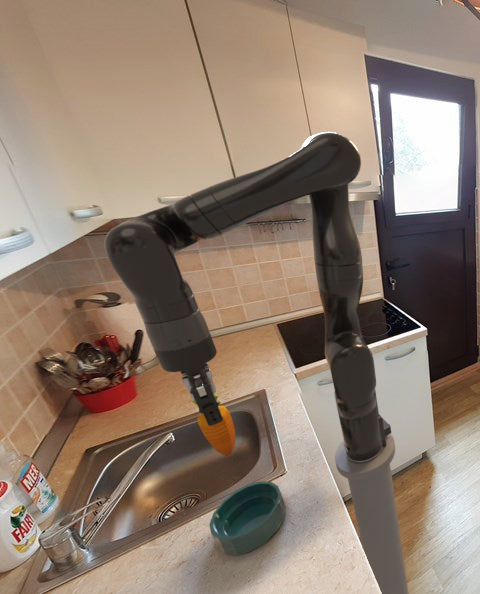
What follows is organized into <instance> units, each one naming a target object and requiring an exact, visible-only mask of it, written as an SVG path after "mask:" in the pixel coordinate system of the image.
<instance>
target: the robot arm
mask: <svg viewBox="0 0 480 594" xmlns="http://www.w3.org/2000/svg"><path fill="white" fill-rule="evenodd" d="M361 167H362V157H361V154H360V151H359V149H358V148H357V146H356V144H354V142H353V141H352V140H350V139H349V138H347V136H344V135H342V134H340V133H336V132H332V131H331V132H330V131H326V132H320V133H316V134H314V135H311V136H309V137H308V138H307V139H306V140H305V141H304V142H303V144H302V145H301V148H300V149H299V150H297V151H295V152H294V153H293V154H291V155H289V156H287V157H286V158H284V159H282V160H279V161H278V162H275V163H273V164H270V165H269V166H265V167H263V168H261V169H258V170H254V171H252V172H248V173H245V174H242V175H239V176H236V177H233V178H230V179H226V180H224V181H221V182H219V183H216V184H213V185H210V186H209V187H206V188H204V189H200V190H199V191H195V192H193V193H192V194H190V195H187V196H185V197H183V198H181V199H178V200H177V201H176V202H174V203H171V204H170V205H165V206H163V207H160V208H157V209H154V210H152V211H151V210H150V211H149V212H146V213H143V214H140V215H137V216H135V217H132V218H130V219H129V218H128V219H127V220H125V221H123V222H121V223H119V224H117V225H116V226H114V227H113V228H111V229H110V230H109V231H108V232H107V234H106V235H105V237H104V241H103V245H104V246H103V247H104V251H105V254H106V256H107V259H108V261H109V263H110V265H111V267H112V268H113V270H114V271H115V273H116V274H117V277H118V278H119V279H120V280H121V282H122V283H123V285H124V286H125V287H126V289H127V290H128V291H129V292H130V294H131V295H132V297H133V301H134V304H135V306H136V308H137V310H138V313H139V314H140V317H141V319H142V321H143V325H144V327H145V332H146V335H147V338H148V340H149V342H150V345H151V346H152V348H153V351H154V353H155V355H156V357H157V359H158V361H159V364H160V366H161V368H162V370H164V371H165V372H169V373H178V372H180V374H181V375H180V376H181V380H182V383H183V385H184V387H186V388H187V390H188V393H189V395H190V397H191V400H192V401H193V400H195V401H196V403H197V405H196V406H197V408H198V412H199V413H200V415H201V414H202V413H203V414H204V416H205V419H206V421H207V423H208V425H209V426H212V425H214V424H217V423H219V422H221V421H222V420H223V418H222V415H221V413H220V410H219V408H218V405H219V406H220V404H218V401H219V400H217V401H216V398H215V396H214V394H216V393H217V389H216V386H215V383H214V380H213V372H212V371H211V368H210V364H209V362H211V361H213V359H214V358H215V357H216V355H217V353H218V351H217V350H218V349H217V348H216V345H215V342H214V340H213V337H212V334H211V331H210V329H209V326H208V324H207V320H206V319H205V317H204V315H203V314H202V312H201V309H200V308H199V305H198V302H197V300H196V297H195V294H194V292H193V289H192V286H191V285H190V284H189V282H188V281H187V280H186V279H185V278H183V275H182V272H181V269H180V267H179V265H178V262H177V259H176V255H175V254H176V253H178V252H181V251H182V250H185V249H186V248H188V247H191V246H193V245H195V244H197V243H199V242H201V241H209V240H213V239H215V238H219V237H220V236H222V235H225V234H227V233H229V232H231V231H234V230H235V229H238V228H239V227H241V226H244V225H247V224H248V223H250V222H252V221H254V220H255V219H258V218H260V217H261V216H262V217H263V216H264V215H266V214H269V213H270V212H272V211H274V210H276V209H278V208H280V207H282V206H284V205H287V204H289V203H291V202H294V201H296V200H298V199H301V198H303V197H306V196H308V197H309V202H310V208H311V222H312V223H311V224H312V225H311V226H312V227H311V229H312V244H313V260H314V268H315V275H316V283H317V287H318V293H319V299H320V302H321V306H322V309H323V316H324V357H325V360H326V362H327V364H328V365H327V366H328V368H329V370H330V374H331V379H332V383H333V389H334V393H333V394H334V401H335V404H336V410H337V414H338V419H339V424H340V428H341V433H342V438H343V440H344V443H345V445H344V447H345V449H346V455H347V458H348V459H349V460H350V461H351V462H353V463H366V462H369V461H371V460H373V459H375V458H376V457H377V456H378V455H379V454H380V453H381V452H382V450H383V448H384V447H386V438H385V436H387V435H389V434H390V433H391V434H392V427H391V424H390V423H388V422H387V421H386V420H385V419H384V418H383V416H381V414H380V412H379V406H378V400H377V392H376V388H377V377H376V376H377V375H376V368H375V362H374V361H375V360H374V355H373V353H372V351H371V349H370V347H369V345H368V344H367V343H366V341H365V340H364V337H363V334H362V330H361V325H360V324H361V323H360V319H359V306H360V301H361V297H362V294H363V287H364V270H363V269H364V268H363V256H362V249H361V246H360V245H361V244H360V241H359V237H358V234H357V231H356V229H355V228H356V227H355V225H354V222H353V219H352V215H351V210H350V209H351V208H350V201H349V200H350V199H349V197H350V196H349V184H351V183H352V182H353V181H355V179H356V178H357V177H358V176H359V173H360V171H361ZM344 443H343V444H344Z"/></svg>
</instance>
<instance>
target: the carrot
mask: <svg viewBox="0 0 480 594" xmlns="http://www.w3.org/2000/svg"><path fill="white" fill-rule="evenodd" d="M214 396H215V398H216V401H218V404H219V405H218V408H219V410H220V413H221V415H222V418H223V420H222V421H221V422H219V423H217V424H214V425H212V426H209V425H208V423H207V421H206V419H205V416H204V414H203V413H202V414H201V413H200V415H199V416H198V417H197V418H196V421H197V424H198V426H199V428H200V431H201V432H202V435H203V436H204V438H205V439H206V440H207V442H208V443H209V444H210V445H211V447H212V448H213V449H214V450H215V451H216V452H217V453H219V454H221V455H223V456H226V457H227V456H231V455H232V454H233V451H234V449H235V445H236V430H235V425H234V421H233V417H232V415H231V412H230V410H229V409H227V407H226V406H225V405H221V403H222V400H218V397H219V395H218V394H217V393H214ZM192 403H193V404H195V405H196V406H198V405H197V403H196V401H195V400H192Z"/></svg>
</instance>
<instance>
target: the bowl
mask: <svg viewBox="0 0 480 594" xmlns="http://www.w3.org/2000/svg"><path fill="white" fill-rule="evenodd" d="M286 510H287V507H286V504H285V501H284V497H283V495H282V491H281V489H280V487H279V485H278V484H276V483H274V482H272V481H256V482H253V483H250V484H247V485H245V486H243V487H241V488H239V489H237V490H235V491H234V492H233V493H231V494H230V495H229V496H228V497H226V498H225V499H224V500H223V501H222V502H220V504H219V505H218V506H217V508H216V509H215V511H214V512H213V514H212V516H211V519H210V522H209V530H210V533H211V536H212V539H213V540H214V543H215V545H216V547H217V548H218V550H219V551H220V552H221V553H223V554H224V555H226V556H240V555H243V554H246V553H248V552H251V551H254V550H256V549H258V548H259V547H260V546H262V545H263V544H264V543H266V542H267V541H269V540H270V539H271V537H272V536H273V535H275V533H277V531H278V530H279V528H280V527H281V525H282V523H283V521H284V520H285V517H286V512H287V511H286Z"/></svg>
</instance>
